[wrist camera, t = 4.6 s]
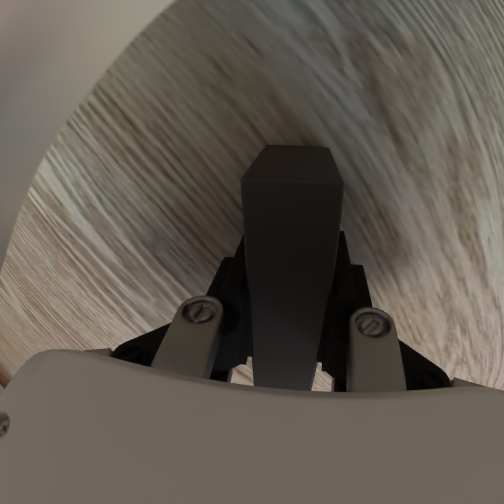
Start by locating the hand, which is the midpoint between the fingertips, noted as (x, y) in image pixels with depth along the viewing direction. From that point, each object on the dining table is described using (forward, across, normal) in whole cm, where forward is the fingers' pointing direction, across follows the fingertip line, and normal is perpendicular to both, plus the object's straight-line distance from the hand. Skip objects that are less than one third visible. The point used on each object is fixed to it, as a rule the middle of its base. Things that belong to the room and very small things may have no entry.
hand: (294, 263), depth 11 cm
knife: (0, 0, +5) cm, 5 cm away
